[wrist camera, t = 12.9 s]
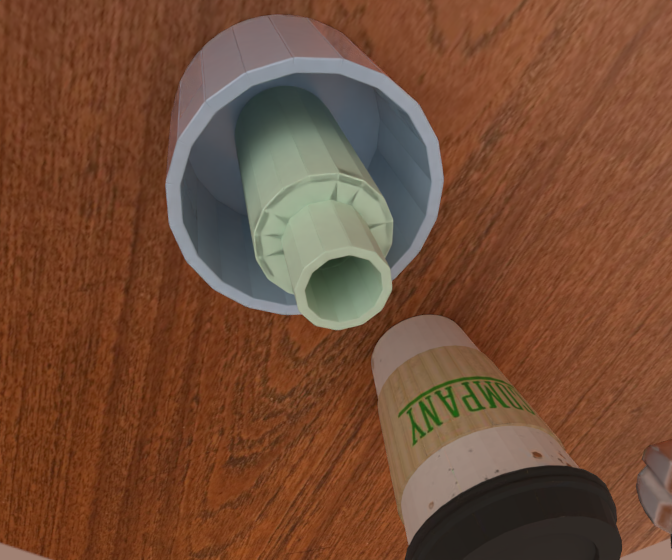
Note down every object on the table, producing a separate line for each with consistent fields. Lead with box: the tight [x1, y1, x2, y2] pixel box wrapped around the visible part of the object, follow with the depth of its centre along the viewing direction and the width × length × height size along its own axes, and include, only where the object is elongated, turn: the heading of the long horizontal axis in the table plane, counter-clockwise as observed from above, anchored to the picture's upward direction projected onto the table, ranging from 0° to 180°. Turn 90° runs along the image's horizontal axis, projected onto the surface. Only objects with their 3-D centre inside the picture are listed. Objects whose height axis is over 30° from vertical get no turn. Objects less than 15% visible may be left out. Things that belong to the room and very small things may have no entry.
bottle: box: [235, 86, 393, 330], centre depth 22 cm, size 5×5×13 cm
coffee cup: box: [371, 315, 622, 560], centre depth 32 cm, size 10×10×15 cm
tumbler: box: [165, 14, 444, 315], centre depth 25 cm, size 10×10×8 cm
